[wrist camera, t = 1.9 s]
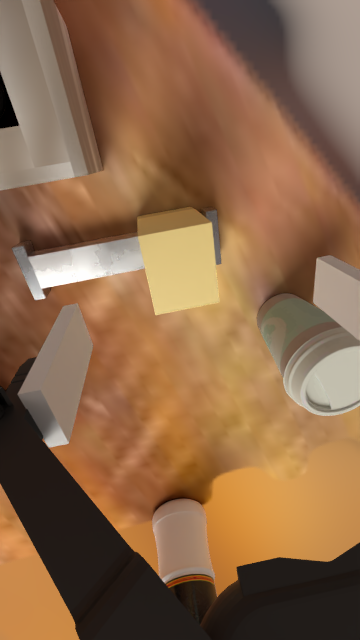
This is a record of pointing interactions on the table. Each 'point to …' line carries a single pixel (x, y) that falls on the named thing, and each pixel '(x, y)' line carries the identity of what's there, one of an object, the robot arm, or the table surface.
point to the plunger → (2, 101)
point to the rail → (88, 259)
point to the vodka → (185, 554)
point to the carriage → (178, 259)
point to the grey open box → (42, 99)
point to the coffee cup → (312, 355)
